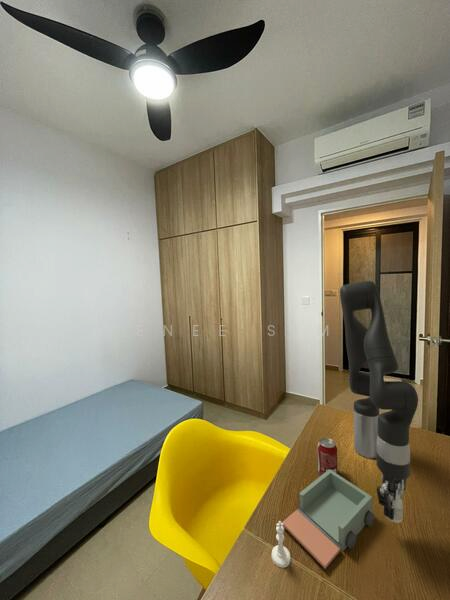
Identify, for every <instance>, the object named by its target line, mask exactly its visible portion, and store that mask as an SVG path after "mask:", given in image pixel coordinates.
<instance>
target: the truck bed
mask: <svg viewBox="0 0 450 600" xmlns="http://www.w3.org/2000/svg"><path fill="white" fill-rule="evenodd" d="M298 500H299V501H298V503H299V509H300V510H301V511H302V512H303V513H304V514H305V515H306V516H307V517H308V518H310V519H311V520H312V521H313V522H314V523H315V524H316V525H317V526H319V527H320V528H321V529H322V530H323V531H324V532H325V533H326V534H327V535H329V536H330V537H331V538H332V539H333V540H334V541H335V542H336V543H338V544H339V545H340V546H341V547H342V549H341V552H344V551H345V550H346V549H347V548H349V549H350V550H354V548H355V546H356V545H357V540H358V537H357V536H358V534H359V533H360V532H361V531H362V530H363V528H364V527H365V526H368V527H369V528H371V527H372V526H373V525H374V523H375V522H374V521H375V514H374V512H373V496H371V495H370V494H368V493H367V492H365V491H364V490H363V489H361V488H359V487H358V486H356V485H355V484H353V483H351V482H350V481H348V480H347V479H346V478H344V477H343V476H341V475H339V474H338V473H337V474H336V473H335V472H333V471H332V470H330V469H329V470H328V471H326V472H325V473H324V474H323V475H321V474H320V476H318V477H317V478H316V479H315V480H314V481H312V482H311V483H310V484H309V485H308V486H307V487H305V488H304V489H303V490H300V492H299V499H298Z"/></svg>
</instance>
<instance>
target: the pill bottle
mask: <svg viewBox="0 0 450 600" xmlns="http://www.w3.org/2000/svg"><path fill="white" fill-rule="evenodd" d="M387 491H388V490H387ZM388 492H390V491H388ZM390 493H391V492H390ZM392 494H393V495H394V493H392ZM400 497H401V493H400V490H399V489H398V496H397V499H396V500H395V502H394V519H393V520H391V519H389V518H388V517H386V519H387V520H389V521H390V522H392V523H396V524H397V523H398V524H399V523H402V522H403V511H404V510H403V506H404V505H403V503H404V502H403V500H402V499H403V498H402V499H401V498H400ZM390 502H391V498H390ZM382 507H383V508H382V509H383V512H384V506H382Z"/></svg>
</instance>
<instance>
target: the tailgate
mask: <svg viewBox="0 0 450 600" xmlns="http://www.w3.org/2000/svg"><path fill="white" fill-rule="evenodd" d="M281 523H283V528H284V529H286V530H287V531H288V532H289V534H290V535H291V536H292V537H293V538H294V539H296V541H297V542H298V543H299V544H301V546H302V547H303V548H304V549H305V550H306V551H307V552H308V553H309V554H310V555H311V556H312V557H313V558H314V559H315V561H316V562H318V563H319V564H320V566H321V567H323V569H324V570H326V569H327V568H328V566H329V565H330V564H331V563H332V562H333V560H334V559H335V558H336V557H337V555H339V553H340V552H342V550H341V549H342V547H341V546H340V545H339V544H338V543H336V542H335V541H334V540H333V539H332V538H331V537H330V536H329V535H327V534H326V533H325V532H324V531H323V530H322V529H321V528H320V527H319V526H317V525H316V524H315V523H314V522H313V521H312V520H311V519H310V518H308V517H307V516H306V515H305V514H304V513H303V512H302V511H301V510H300V508H297V509H295V511H293V512H292V513H291V514H290V515H289V516H287V518H285V519H284V520H283V521H281Z"/></svg>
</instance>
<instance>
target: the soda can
mask: <svg viewBox="0 0 450 600" xmlns="http://www.w3.org/2000/svg"><path fill="white" fill-rule="evenodd" d="M329 469H330V470H332V471H333V472H335V473H336V474H338V448H337V446H336V442H335V440H333V439H331V438H328V437H321V438H319V440H318V443H317V471H318V472H319V474H320V476H321V475H323V474H324V473H325V472H326V471H328V470H329Z"/></svg>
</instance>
